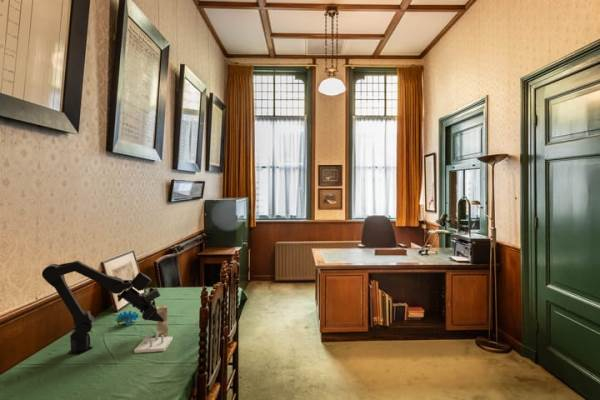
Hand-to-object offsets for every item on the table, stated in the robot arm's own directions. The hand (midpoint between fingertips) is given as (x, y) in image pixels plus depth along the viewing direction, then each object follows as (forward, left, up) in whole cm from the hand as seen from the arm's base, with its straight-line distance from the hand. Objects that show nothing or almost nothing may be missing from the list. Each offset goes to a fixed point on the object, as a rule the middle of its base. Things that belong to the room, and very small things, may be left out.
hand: (162, 318), depth 159 cm
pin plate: (-11, -5, -8) cm, 14 cm away
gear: (+7, +28, -8) cm, 30 cm away
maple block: (0, 0, -8) cm, 8 cm away
